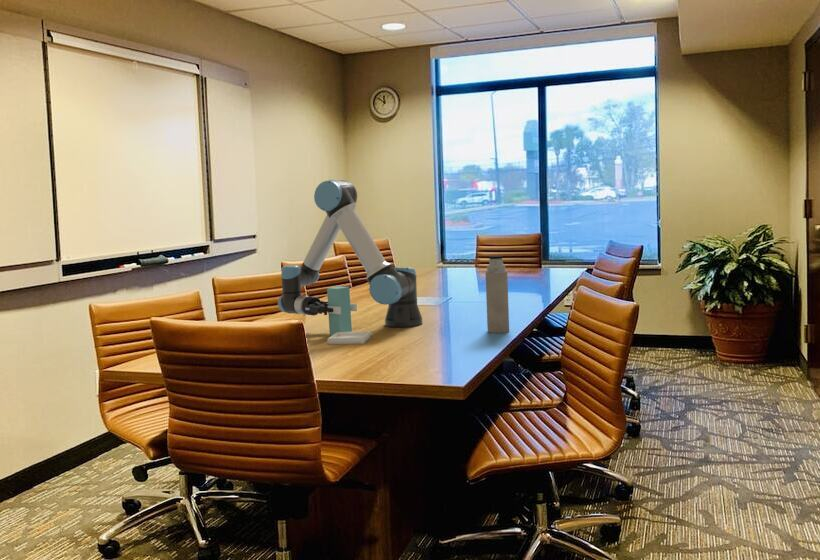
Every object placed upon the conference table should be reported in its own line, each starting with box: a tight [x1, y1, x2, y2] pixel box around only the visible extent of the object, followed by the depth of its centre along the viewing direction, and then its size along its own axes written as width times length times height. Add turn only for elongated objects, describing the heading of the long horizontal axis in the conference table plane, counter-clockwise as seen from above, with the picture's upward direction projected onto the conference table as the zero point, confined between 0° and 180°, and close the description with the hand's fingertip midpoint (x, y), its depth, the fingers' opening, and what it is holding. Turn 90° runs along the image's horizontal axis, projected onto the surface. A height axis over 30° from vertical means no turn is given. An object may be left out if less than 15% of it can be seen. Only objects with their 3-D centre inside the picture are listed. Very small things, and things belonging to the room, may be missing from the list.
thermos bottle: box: [485, 255, 510, 334], centre depth 274 cm, size 8×8×28 cm
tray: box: [326, 330, 373, 345], centre depth 271 cm, size 13×13×2 cm
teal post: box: [326, 285, 353, 336], centre depth 284 cm, size 6×6×18 cm
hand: (348, 309), depth 280 cm, fingers open, 8 cm apart
